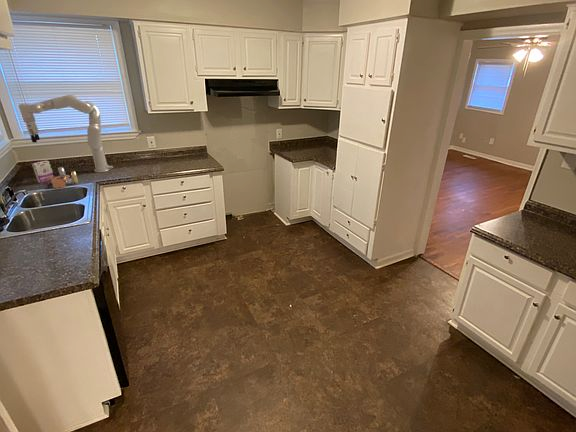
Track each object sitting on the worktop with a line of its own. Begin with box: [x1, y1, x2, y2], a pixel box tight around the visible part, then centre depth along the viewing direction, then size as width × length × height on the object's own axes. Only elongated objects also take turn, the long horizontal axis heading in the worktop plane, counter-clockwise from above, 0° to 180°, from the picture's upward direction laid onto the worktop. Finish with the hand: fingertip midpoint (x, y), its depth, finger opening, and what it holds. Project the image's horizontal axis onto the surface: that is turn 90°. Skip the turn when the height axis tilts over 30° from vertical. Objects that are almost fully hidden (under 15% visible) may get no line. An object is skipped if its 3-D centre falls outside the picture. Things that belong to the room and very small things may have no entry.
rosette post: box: [50, 166, 73, 189], centre depth 252 cm, size 10×20×12 cm, turn 20°
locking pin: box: [70, 171, 80, 185], centre depth 253 cm, size 3×3×10 cm
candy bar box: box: [31, 160, 55, 184], centre depth 255 cm, size 11×5×16 cm, turn 148°
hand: (36, 141), depth 260 cm, fingers open, 9 cm apart
